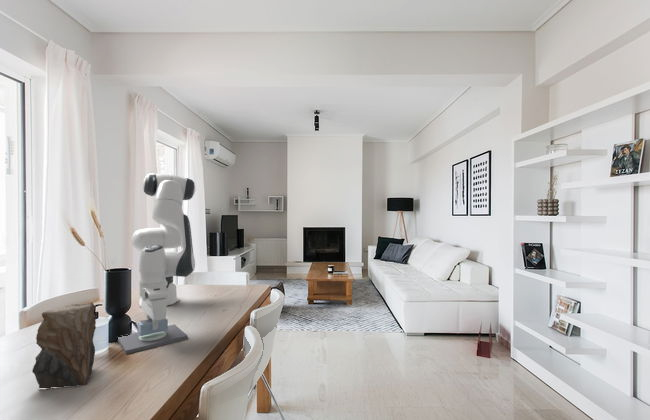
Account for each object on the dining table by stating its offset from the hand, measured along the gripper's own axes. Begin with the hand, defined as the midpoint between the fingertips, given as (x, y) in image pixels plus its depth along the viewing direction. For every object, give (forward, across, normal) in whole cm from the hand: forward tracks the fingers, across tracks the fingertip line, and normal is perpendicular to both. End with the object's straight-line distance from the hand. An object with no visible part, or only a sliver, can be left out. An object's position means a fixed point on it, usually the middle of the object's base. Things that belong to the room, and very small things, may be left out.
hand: (152, 327), depth 121 cm
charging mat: (+4, 0, 0) cm, 5 cm away
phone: (+2, 0, 0) cm, 2 cm away
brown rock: (+5, +17, -25) cm, 31 cm away
